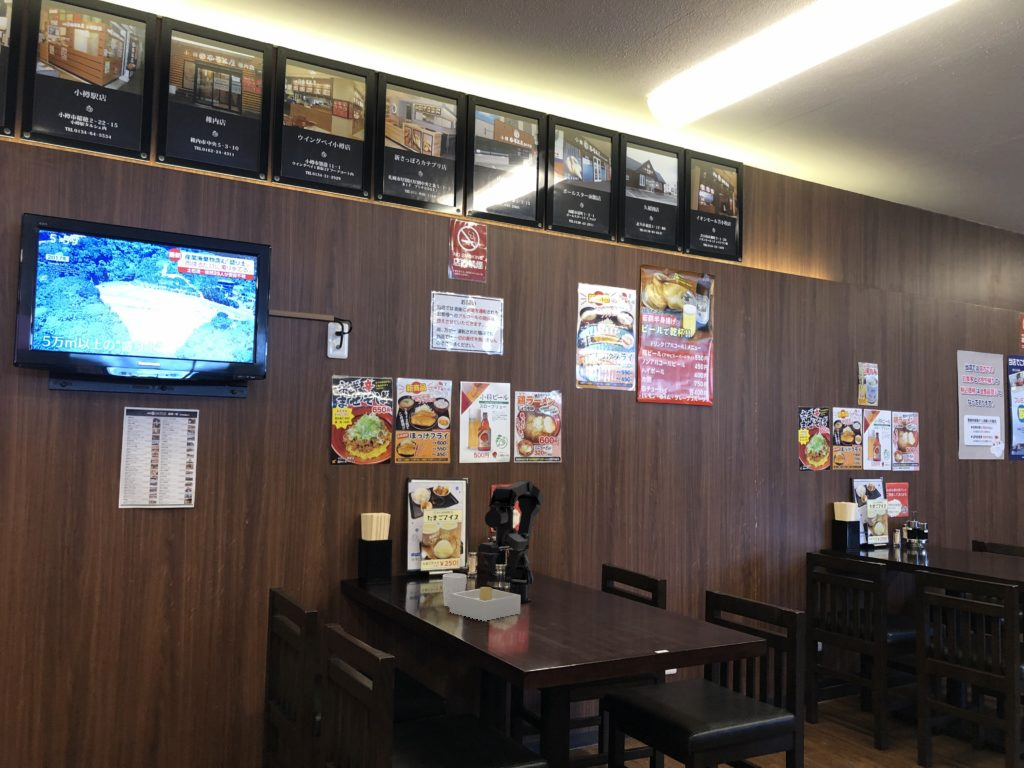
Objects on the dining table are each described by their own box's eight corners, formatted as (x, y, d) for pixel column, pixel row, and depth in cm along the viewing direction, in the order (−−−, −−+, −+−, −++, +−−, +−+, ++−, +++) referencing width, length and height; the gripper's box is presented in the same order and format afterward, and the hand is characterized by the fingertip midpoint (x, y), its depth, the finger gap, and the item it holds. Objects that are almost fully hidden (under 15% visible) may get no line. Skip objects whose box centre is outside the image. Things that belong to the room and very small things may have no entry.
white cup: (437, 606, 266) (438, 575, 267) (450, 602, 273) (450, 572, 274) (457, 609, 263) (458, 578, 263) (470, 605, 270) (470, 574, 270)
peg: (485, 611, 260) (486, 586, 261) (493, 613, 257) (494, 588, 258) (476, 613, 257) (477, 587, 258) (484, 615, 255) (485, 589, 255)
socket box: (485, 605, 269) (486, 587, 269) (520, 614, 258) (520, 595, 258) (449, 612, 257) (450, 593, 258) (484, 621, 246) (484, 601, 246)
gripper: (501, 529, 252) (500, 579, 252) (541, 525, 266) (540, 573, 265) (477, 525, 260) (476, 574, 259) (517, 522, 274) (516, 568, 273)
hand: (503, 572), depth 264 cm, fingers open, 9 cm apart
